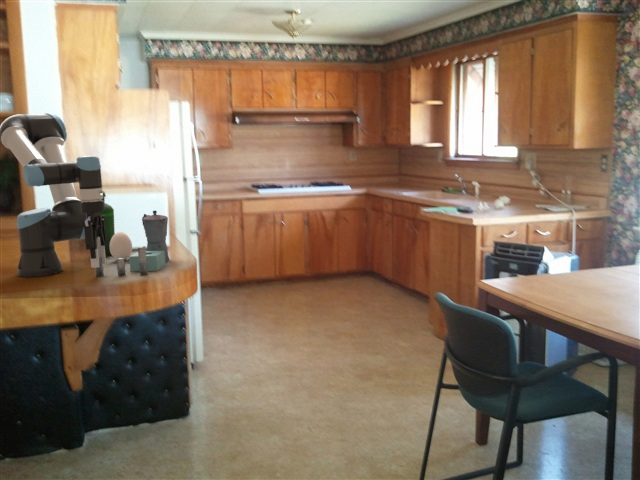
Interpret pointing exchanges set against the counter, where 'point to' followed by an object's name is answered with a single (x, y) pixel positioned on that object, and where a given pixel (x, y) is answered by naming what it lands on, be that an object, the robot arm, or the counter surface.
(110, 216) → the bottle
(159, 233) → the moka pot
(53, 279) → the counter surface
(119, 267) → the pin short
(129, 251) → the egg
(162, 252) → the teal square nut
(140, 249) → the pin medium
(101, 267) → the pin long
